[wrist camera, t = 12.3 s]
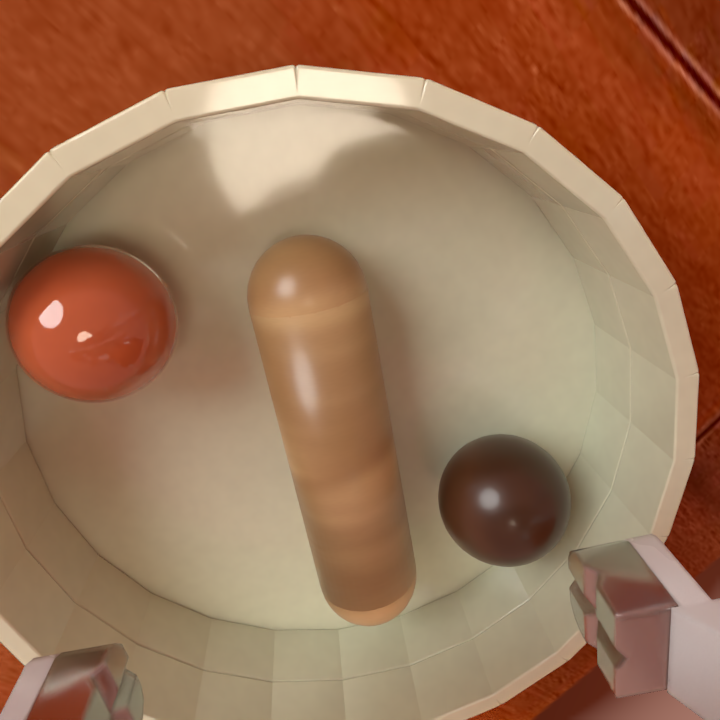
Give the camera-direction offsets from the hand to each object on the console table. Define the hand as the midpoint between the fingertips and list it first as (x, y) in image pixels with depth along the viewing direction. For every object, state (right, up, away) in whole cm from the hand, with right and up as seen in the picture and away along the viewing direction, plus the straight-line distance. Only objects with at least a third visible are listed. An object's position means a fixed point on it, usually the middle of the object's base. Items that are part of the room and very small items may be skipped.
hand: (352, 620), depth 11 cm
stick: (-2, +2, +8) cm, 8 cm away
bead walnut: (+5, 0, +8) cm, 9 cm away
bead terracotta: (-7, +6, +4) cm, 10 cm away
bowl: (-1, +3, +9) cm, 9 cm away
